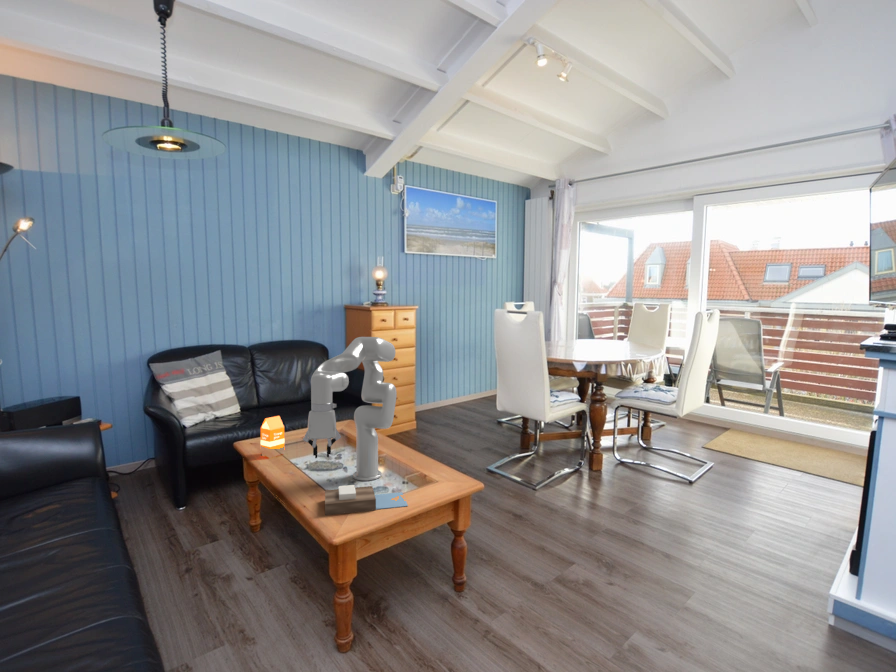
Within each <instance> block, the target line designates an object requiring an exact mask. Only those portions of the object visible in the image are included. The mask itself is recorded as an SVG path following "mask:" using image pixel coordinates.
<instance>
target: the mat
mask: <svg viewBox="0 0 896 672" xmlns="http://www.w3.org/2000/svg"><path fill="white" fill-rule="evenodd" d="M400 495H404V493H403V492H402V491H401V492H398V491H397V492H389V493H379V494H375V498H376V510H385V509H394V508H395V509H396V508H404V507H406V506H407V507H409V505H408V502H407V500H406V501H404V499H403V498H402V497H401V496H400ZM397 496H399V499H398V500H397V501H395V500H391V499H392V498H395V497H397ZM407 507H406V508H407ZM376 510H375V511H376Z"/></svg>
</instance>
